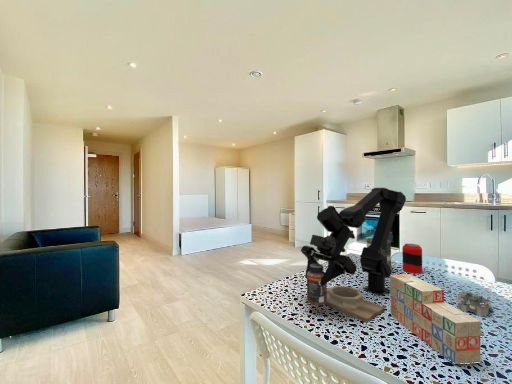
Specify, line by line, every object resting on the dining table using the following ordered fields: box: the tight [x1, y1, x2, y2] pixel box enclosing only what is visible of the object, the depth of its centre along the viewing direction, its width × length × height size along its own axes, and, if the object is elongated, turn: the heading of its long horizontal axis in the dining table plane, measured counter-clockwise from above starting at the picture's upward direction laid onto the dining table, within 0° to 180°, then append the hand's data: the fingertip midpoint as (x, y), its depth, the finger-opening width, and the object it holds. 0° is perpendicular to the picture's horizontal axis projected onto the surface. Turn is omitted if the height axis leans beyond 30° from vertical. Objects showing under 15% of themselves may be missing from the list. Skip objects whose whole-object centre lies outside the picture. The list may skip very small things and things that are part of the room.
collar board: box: [324, 285, 386, 323], centre depth 79 cm, size 11×20×4 cm, turn 38°
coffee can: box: [365, 237, 392, 269], centre depth 112 cm, size 10×10×14 cm
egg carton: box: [455, 289, 492, 317], centre depth 76 cm, size 11×8×4 cm
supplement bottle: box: [306, 263, 328, 306], centre depth 75 cm, size 6×6×11 cm
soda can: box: [401, 243, 423, 274], centre depth 111 cm, size 8×8×12 cm
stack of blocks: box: [389, 273, 482, 364], centre depth 62 cm, size 21×6×12 cm, turn 5°
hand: (313, 281), depth 74 cm, fingers closed on supplement bottle, 6 cm apart
